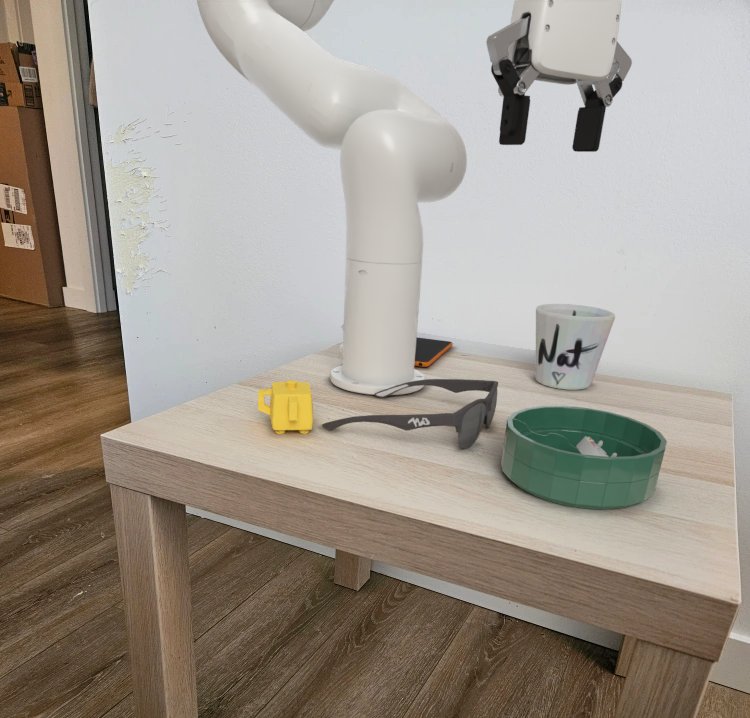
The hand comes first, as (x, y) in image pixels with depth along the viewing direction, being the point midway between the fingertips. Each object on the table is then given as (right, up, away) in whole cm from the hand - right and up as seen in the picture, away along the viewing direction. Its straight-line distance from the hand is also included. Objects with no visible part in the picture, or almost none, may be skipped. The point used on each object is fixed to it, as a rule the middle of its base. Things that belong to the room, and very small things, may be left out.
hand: (549, 148), depth 67 cm
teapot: (-27, -28, +5) cm, 39 cm away
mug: (+10, -18, +30) cm, 36 cm away
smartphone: (-11, -12, +38) cm, 42 cm away
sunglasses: (-13, -27, +8) cm, 31 cm away
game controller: (0, -31, -6) cm, 31 cm away
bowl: (+1, -33, -4) cm, 34 cm away
